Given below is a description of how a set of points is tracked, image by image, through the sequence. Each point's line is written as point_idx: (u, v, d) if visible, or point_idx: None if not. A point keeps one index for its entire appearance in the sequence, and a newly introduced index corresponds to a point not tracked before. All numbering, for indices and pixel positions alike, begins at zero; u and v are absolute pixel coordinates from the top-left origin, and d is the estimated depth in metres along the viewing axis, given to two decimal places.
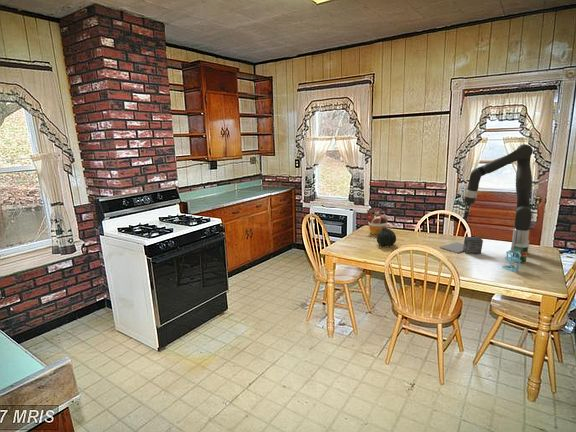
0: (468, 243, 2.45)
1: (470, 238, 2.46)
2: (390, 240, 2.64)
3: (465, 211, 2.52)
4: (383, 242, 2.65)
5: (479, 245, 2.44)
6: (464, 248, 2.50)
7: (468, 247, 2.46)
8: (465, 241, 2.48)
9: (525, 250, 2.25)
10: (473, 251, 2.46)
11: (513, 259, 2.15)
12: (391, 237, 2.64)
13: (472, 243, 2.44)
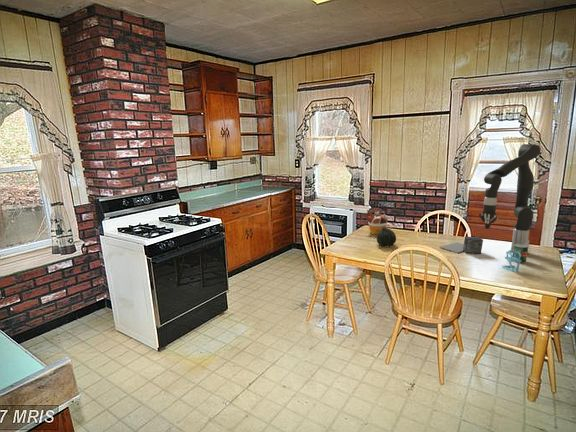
0: (468, 242, 2.45)
1: (470, 238, 2.47)
2: (390, 240, 2.64)
3: (492, 222, 2.33)
4: (383, 242, 2.65)
5: (479, 245, 2.45)
6: (464, 248, 2.50)
7: (468, 246, 2.46)
8: (465, 241, 2.48)
9: (525, 250, 2.25)
10: (473, 250, 2.46)
11: (513, 259, 2.15)
12: (391, 237, 2.64)
13: (472, 242, 2.45)
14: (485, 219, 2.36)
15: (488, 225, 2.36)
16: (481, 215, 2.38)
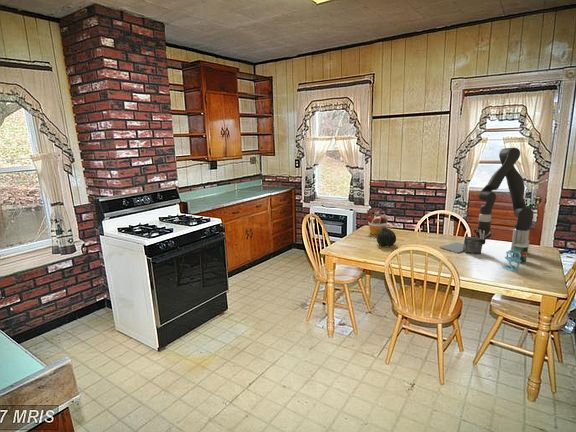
0: (468, 242, 2.45)
1: (470, 237, 2.47)
2: (390, 240, 2.64)
3: (487, 238, 2.37)
4: (383, 242, 2.65)
5: (479, 245, 2.45)
6: (464, 248, 2.50)
7: (468, 246, 2.46)
8: (465, 241, 2.48)
9: (525, 250, 2.25)
10: (473, 250, 2.46)
11: (513, 259, 2.15)
12: (391, 237, 2.64)
13: (472, 242, 2.45)
14: (480, 235, 2.40)
15: (483, 241, 2.40)
16: (476, 231, 2.43)
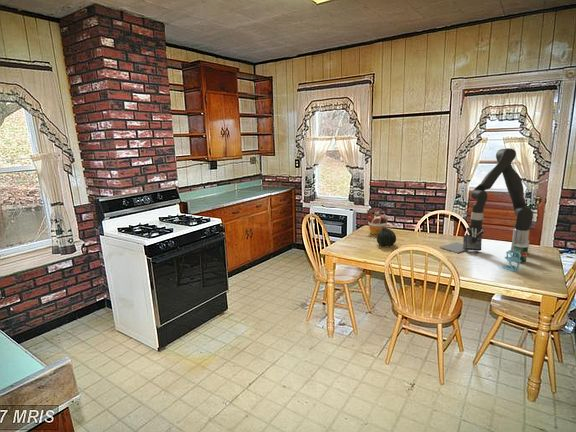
0: (468, 238, 2.49)
1: None
2: (390, 240, 2.64)
3: (479, 236, 2.42)
4: (383, 242, 2.65)
5: (478, 241, 2.47)
6: (464, 245, 2.51)
7: (468, 242, 2.48)
8: (464, 238, 2.52)
9: (525, 250, 2.25)
10: (473, 246, 2.47)
11: (513, 259, 2.15)
12: (391, 237, 2.64)
13: (471, 238, 2.48)
14: (472, 233, 2.45)
15: (475, 239, 2.45)
16: (468, 229, 2.48)
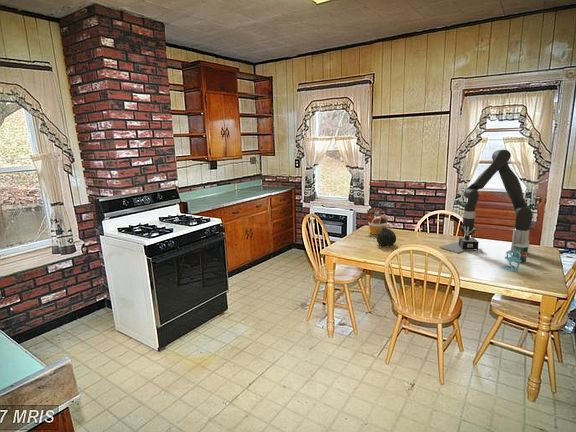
0: (461, 238, 2.59)
1: None
2: (390, 240, 2.64)
3: (471, 234, 2.47)
4: (383, 242, 2.65)
5: (472, 239, 2.57)
6: (461, 244, 2.55)
7: (463, 239, 2.56)
8: (459, 242, 2.60)
9: (525, 250, 2.25)
10: (469, 240, 2.53)
11: (513, 259, 2.15)
12: (391, 237, 2.64)
13: None
14: (465, 231, 2.50)
15: (467, 237, 2.50)
16: (461, 227, 2.53)
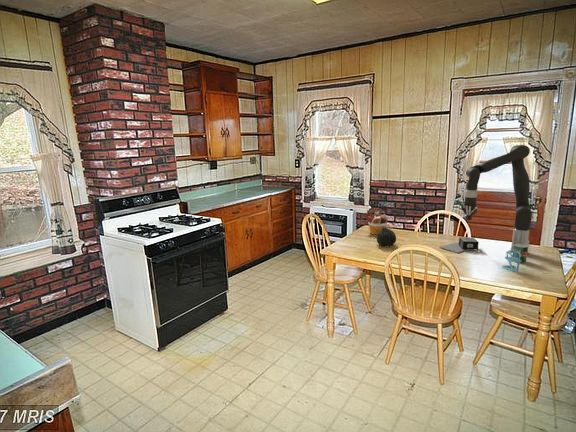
0: (461, 238, 2.59)
1: None
2: (390, 240, 2.64)
3: (473, 213, 2.44)
4: (383, 242, 2.65)
5: (472, 239, 2.57)
6: (461, 244, 2.55)
7: (463, 239, 2.56)
8: (459, 242, 2.60)
9: (525, 250, 2.25)
10: (469, 240, 2.53)
11: (513, 259, 2.15)
12: (391, 237, 2.64)
13: (465, 238, 2.59)
14: (466, 211, 2.47)
15: (469, 217, 2.47)
16: (463, 207, 2.50)
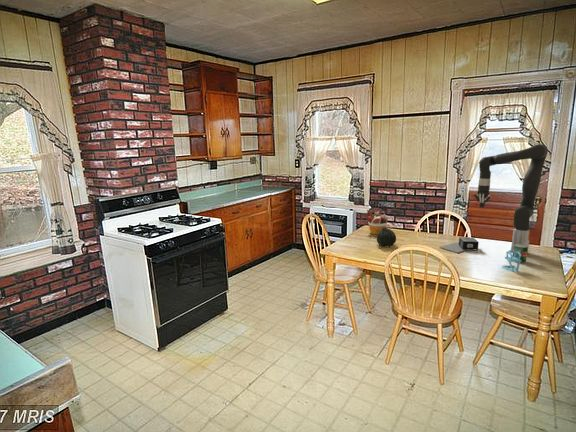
0: (461, 238, 2.59)
1: None
2: (390, 240, 2.64)
3: (486, 201, 2.54)
4: (383, 242, 2.65)
5: (472, 239, 2.57)
6: (461, 244, 2.55)
7: (463, 239, 2.56)
8: (459, 242, 2.60)
9: (525, 250, 2.25)
10: (469, 240, 2.53)
11: (513, 259, 2.15)
12: (391, 237, 2.64)
13: (465, 238, 2.59)
14: (480, 199, 2.58)
15: (482, 204, 2.58)
16: (476, 195, 2.60)
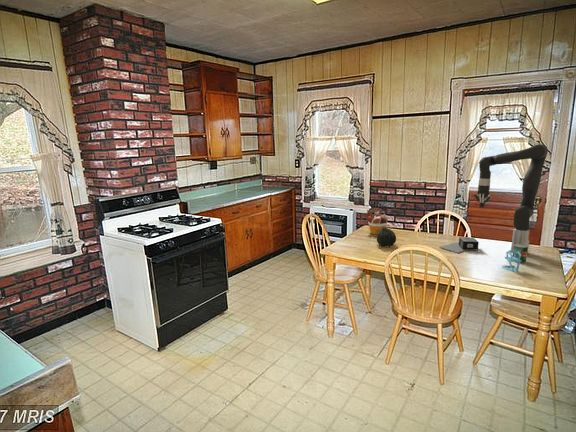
0: (461, 238, 2.59)
1: None
2: (390, 240, 2.64)
3: (486, 201, 2.54)
4: (383, 242, 2.65)
5: (472, 239, 2.57)
6: (461, 244, 2.55)
7: (463, 239, 2.56)
8: (459, 242, 2.60)
9: (525, 250, 2.25)
10: (469, 240, 2.53)
11: (513, 259, 2.15)
12: (391, 237, 2.64)
13: (465, 238, 2.59)
14: (480, 199, 2.58)
15: (482, 204, 2.58)
16: (476, 195, 2.60)
